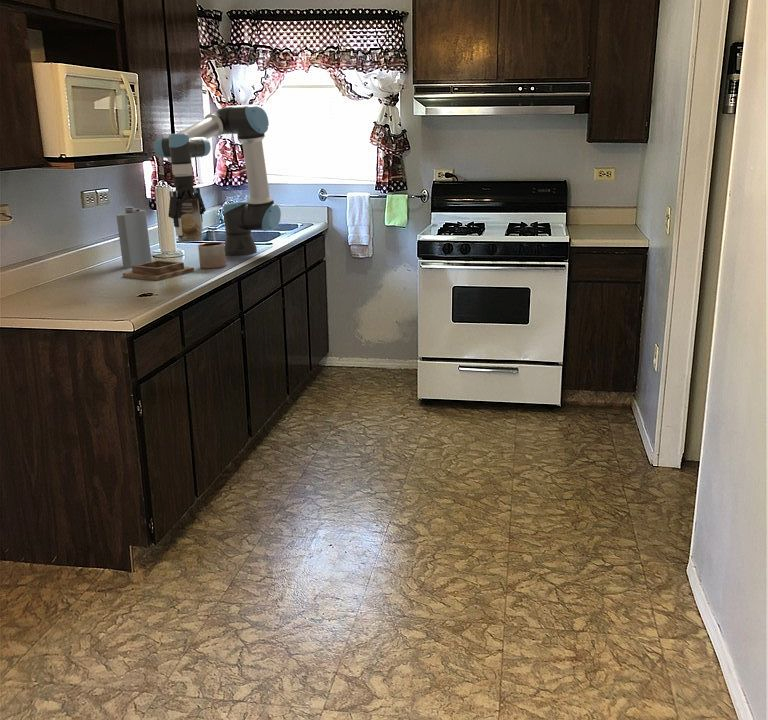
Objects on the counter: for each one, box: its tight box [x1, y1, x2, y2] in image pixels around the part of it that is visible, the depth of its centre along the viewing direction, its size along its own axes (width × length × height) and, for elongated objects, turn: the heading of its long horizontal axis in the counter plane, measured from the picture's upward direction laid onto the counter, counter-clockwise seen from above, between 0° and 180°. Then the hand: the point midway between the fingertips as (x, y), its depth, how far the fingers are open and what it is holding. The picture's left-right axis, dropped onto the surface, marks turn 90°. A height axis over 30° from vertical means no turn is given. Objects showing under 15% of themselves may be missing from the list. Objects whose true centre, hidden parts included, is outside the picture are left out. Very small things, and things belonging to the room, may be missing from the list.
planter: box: [197, 241, 227, 270], centre depth 337 cm, size 11×11×10 cm
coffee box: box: [176, 198, 203, 243], centre depth 313 cm, size 9×6×16 cm
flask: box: [115, 206, 152, 269], centre depth 347 cm, size 17×5×25 cm, turn 161°
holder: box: [122, 259, 195, 282], centre depth 326 cm, size 20×20×4 cm
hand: (189, 233), depth 314 cm, fingers closed on coffee box, 10 cm apart
